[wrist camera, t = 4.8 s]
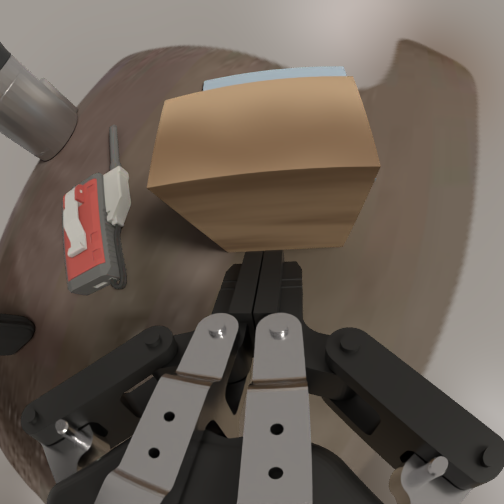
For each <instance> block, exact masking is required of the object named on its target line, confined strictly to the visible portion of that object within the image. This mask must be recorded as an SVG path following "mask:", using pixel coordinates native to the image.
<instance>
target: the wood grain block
mask: <svg viewBox="0 0 504 504" xmlns="http://www.w3.org/2000/svg"><path fill="white" fill-rule="evenodd" d="M380 167H381V166H380V162H379V158H378V154H377V150H376V146H375V143H374V139H373V136H372V132H371V129H370V125H369V122H368V119H367V116H366V112H365V109H364V106H363V103H362V100H361V97H360V95H359V92H358V89H357V86H356V84H355V81H354V78H353V76H319V77H298V78H285V79H274V80H265V81H257V82H250V83H243V84H237V85H231V86H225V87H220V88H215V89H210V90H205V91H201V92H196V93H192V94H188V95H184V96H180V97H176V98H173V99H169V100H165V103H164V107H163V111H162V115H161V119H160V123H159V127H158V132H157V136H156V141H155V146H154V151H153V156H152V161H151V167H150V172H149V178H148V184H147V188H148V189H149V190H150V191H151V192H153V193H154V194H155V195H156V196H157V197H159V198H160V199H161V200H162V201H164V202H165V203H166V204H167V205H169V206H170V207H171V208H172V209H174V210H175V211H176V212H177V213H179V214H180V215H181V216H182V217H184V218H185V219H186V220H187V221H189V222H190V223H191V224H192V225H194V226H195V227H196V228H198V229H199V230H200V231H201V232H203V233H204V234H205V235H206V236H208V237H209V238H210V239H211V240H213V241H214V242H215V243H217V244H218V245H219V246H220V247H222V248H223V249H224V250H225V251H227V252H246V251H265V250H287V249H306V248H326V247H343V245H344V243H345V241H346V240H347V238H348V236H349V234H350V232H351V230H352V227H353V225H354V223H355V221H356V219H357V217H358V215H359V213H360V211H361V209H362V207H363V205H364V202H365V200H366V198H367V196H368V194H369V192H370V189H371V187H372V185H373V183H374V180H375V178H376V176H377V174H378V171H379V169H380Z"/></svg>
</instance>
